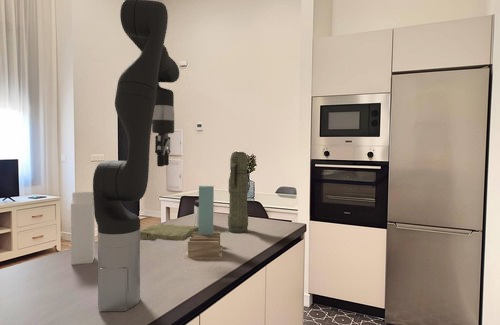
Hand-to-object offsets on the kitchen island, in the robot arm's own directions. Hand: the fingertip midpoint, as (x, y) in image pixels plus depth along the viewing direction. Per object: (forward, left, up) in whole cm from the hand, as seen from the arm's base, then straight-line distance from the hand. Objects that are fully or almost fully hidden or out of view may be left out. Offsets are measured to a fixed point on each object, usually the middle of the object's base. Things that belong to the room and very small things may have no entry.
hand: (163, 165), depth 120 cm
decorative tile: (+21, +2, -31) cm, 37 cm away
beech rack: (-4, -15, -30) cm, 34 cm away
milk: (-11, +23, -30) cm, 40 cm away
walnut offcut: (-4, -15, -29) cm, 33 cm away
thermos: (+29, -27, -30) cm, 50 cm away
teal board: (0, -15, -29) cm, 33 cm away
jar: (+39, -11, -30) cm, 51 cm away
